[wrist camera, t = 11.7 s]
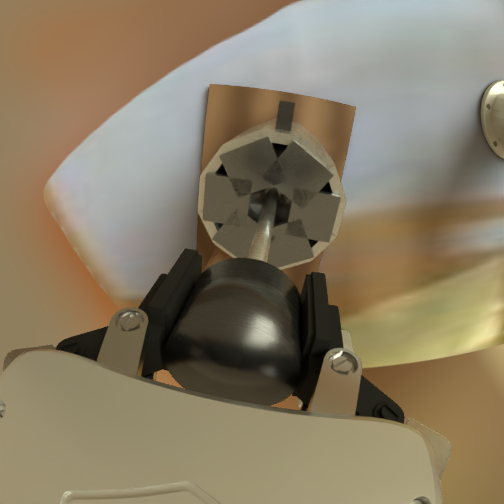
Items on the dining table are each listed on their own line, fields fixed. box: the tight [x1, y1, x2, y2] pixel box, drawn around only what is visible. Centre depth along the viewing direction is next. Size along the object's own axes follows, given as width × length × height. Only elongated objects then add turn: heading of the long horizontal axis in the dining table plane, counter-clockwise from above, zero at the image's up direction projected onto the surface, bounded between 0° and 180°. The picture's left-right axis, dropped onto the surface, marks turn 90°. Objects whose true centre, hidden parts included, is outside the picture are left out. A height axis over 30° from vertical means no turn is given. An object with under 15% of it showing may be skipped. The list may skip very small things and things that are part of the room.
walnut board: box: [197, 84, 356, 295], centre depth 39 cm, size 18×30×1 cm, turn 173°
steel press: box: [198, 100, 346, 270], centre depth 28 cm, size 11×13×17 cm
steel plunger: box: [163, 148, 302, 406], centre depth 17 cm, size 8×8×19 cm
